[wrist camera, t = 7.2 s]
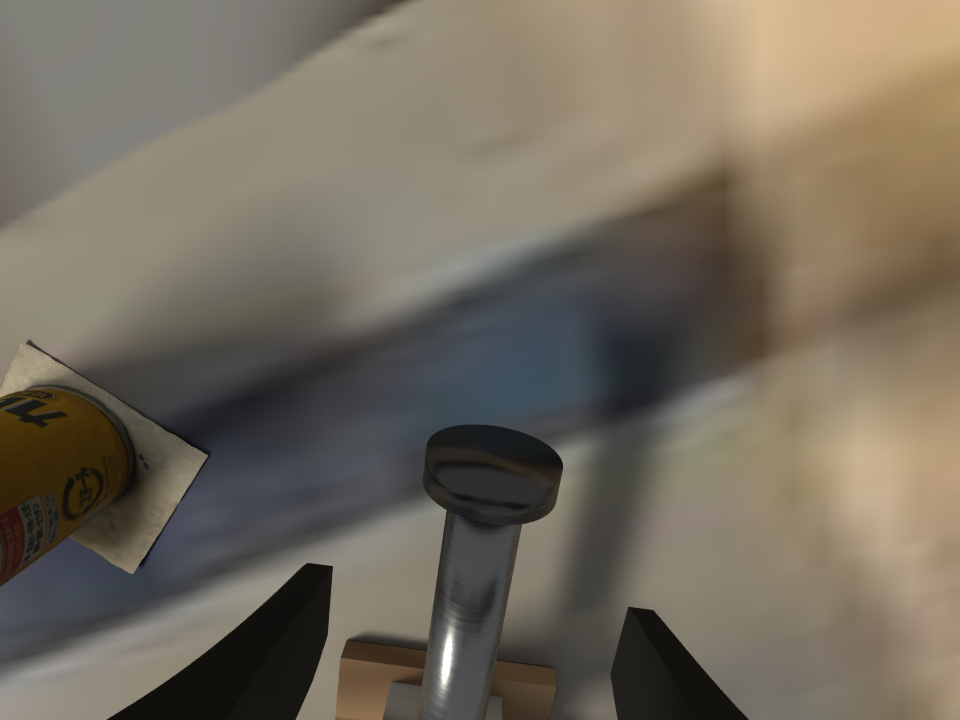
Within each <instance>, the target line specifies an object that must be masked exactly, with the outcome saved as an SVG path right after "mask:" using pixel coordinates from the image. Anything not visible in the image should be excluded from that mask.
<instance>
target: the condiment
mask: <svg viewBox="0 0 960 720" xmlns="http://www.w3.org/2000/svg"><path fill="white" fill-rule="evenodd" d="M140 454H141V455H142V456H143V460H140V459H139V455H140ZM207 456H208V455H206V454H205V453H203V452H201V451H200V450H198V449H196V448H194V447H192V446H191V445H189V444H187V443H186V442H184V441H183V440H182V439H181V438H179V437H177V436H176V435H174V434H171V433H169V432H167V431H165V430H164V429H163V428H161V427H160V426H158V425H157V424H155V423H154V422H152V421H151V420H149V419H147V418H145V417H143V416H141V415H140V414H139V413H138V412H136V411H135V410H133V409H131V408H130V407H128V406H127V405H125V404H124V403H122V402H121V401H120V400H118V399H117V398H115V397H114V396H112V395H111V394H109V393H108V392H106V391H105V390H103V389H101V388H99V387H98V386H96V385H94V384H92V383H91V382H89V381H88V380H86V379H85V378H83V377H82V376H80V375H78V374H76V373H75V372H74V371H72V370H70V369H69V368H67V367H66V366H64V365H62V364H60V363H58V362H56V361H54V360H53V359H52V358H51V357H49V356H48V355H46V354H44V353H43V352H41V351H39V350H37V349H35V348H33V347H32V346H29V345H27V344H24V343H22V342H21V344H20V346H19V349H18V351H17V352H16V355H15V357H14V359H13V361H12V363H11V367H10V369H9V371H8V372H7V374H6V379H5V380H4V382H3V385H2V387H1V389H0V587H1V586H2V585H3V584H5V583H6V582H8V581H9V580H10V579H12V578H13V577H14V576H16V575H17V574H18V573H20V572H21V571H23V570H24V569H25V568H27V567H28V566H29V565H31V564H32V563H33V562H35V561H36V560H38V559H39V558H40V557H42V556H43V555H44V554H46V553H47V552H48V551H50V550H51V549H53V548H54V547H55V546H57V545H58V544H59V543H61V542H62V541H63V540H65V539H66V538H67V537H69V538H71V539H73V540H75V541H77V542H79V543H80V544H81V545H83V546H86V547H88V548H90V549H92V550H93V551H95V552H97V553H98V554H100V555H101V556H103V557H104V558H105V559H107V560H108V561H109V562H110V563H112V564H113V565H115V566H118V567H120V568H122V569H124V570H125V571H127V572H129V573H131V574H133V573H134V572H135V570H136V569H137V567H138V566H139V564H140V562H141V561H142V559H143V558H144V557H145V555H146V553H147V552H148V550H149V549H150V547H151V546H152V544H153V543H154V541H155V539H156V537H157V536H158V535H159V533H160V532H161V530H162V529H163V527H164V525H165V524H166V522H167V521H168V519H169V517H170V516H171V514H172V513H173V511H174V510H175V508H176V507H177V505H178V504H179V502H180V500H181V498H182V497H183V495H184V493H185V492H186V490H187V488H188V487H189V485H190V484H191V482H192V481H193V479H194V478H195V476H196V474H197V472H198V471H199V469H200V468H201V466H202V464H203V463H204V461H205V460H206V458H207ZM143 463H146V464H147V465H148V467H149V468H148V470H146V469H145V467H144V465H143Z"/></svg>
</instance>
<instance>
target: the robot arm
mask: <svg viewBox="0 0 960 720" xmlns="http://www.w3.org/2000/svg"><path fill="white" fill-rule="evenodd" d="M332 571H333V566H327V565H320V564H313V563H307V564H305V565H304V566H303V567H302V568H301V569H300V570H298V571H297V572H296V573H295V574H294V575H293V576H292V577H291V578H290V579H289V580H288V581H287V582H286V583H285V584H284V585H283V586H282V587H281V588H280V589H279V590H278V591H277V592H276V593H275V594H273V595H272V596H271V597H270V598H269V599H268V600H267V601H266V602H265V603H264V604H263V605H261V606H260V607H259V608H258V609H257V610H256V611H255V612H254V613H252V614H251V615H250V616H249V617H248V618H247V619H246V620H245V621H243V622H242V623H241V624H240V625H239V626H238V627H236V628H235V629H234V630H233V631H232V632H230V633H229V634H228V635H227V636H225V637H224V638H223V639H222V640H220V641H219V642H218V643H217V644H215V645H214V646H213V647H212V648H211V649H209V650H208V651H207V652H206V653H204V654H203V655H202V656H200V657H199V658H198V659H196V660H195V661H194V662H192V663H191V664H190V665H188V666H187V667H186V668H184V669H183V670H182V671H180V672H179V673H177V674H176V675H175V676H173V677H172V678H170V679H169V680H167V681H166V682H165V683H163V684H162V685H160V686H159V687H157V688H156V689H154V690H153V691H151V692H150V693H148V694H147V695H145V696H144V697H142V698H140V699H139V700H137V701H136V702H134V703H133V704H131V705H130V706H128V707H126V708H125V709H123V710H121V711H120V712H118V713H117V714H115V715H113V716H112V717H110V718H109V719H107V720H296V717H297V715H298V713H299V711H300V708H301V706H302V704H303V702H304V699H305V697H306V695H307V693H308V690H309V688H310V686H311V684H312V681H313V678H314V675H315V672H316V670H317V667H318V664H319V661H320V658H321V654H322V651H323V648H324V645H325V642H326V639H327V636H328V623H329V610H330V597H331V584H332ZM611 681H612V687H613V694H614V700H615V706H616V712H617V717H618V720H749V719H748V718H747V717H746V716H745V715H744V714H743V713H742V712H741V711H740V710H739V709H738V708H737V707H736V706H735V705H734V704H733V702H732V701H731V700H730V699H729V698H728V697H727V696H726V695H725V694H724V693H723V691H722V690H721V689H720V688H719V687H718V686H717V685H716V684H715V682H714V681H713V680H712V679H711V678H710V677H709V675H708V674H707V673H706V672H705V671H704V670H703V669H702V667H701V666H700V665H699V664H698V663H697V661H696V660H695V659H694V658H693V657H692V656H691V654H690V653H689V652H688V651H687V650H686V648H685V647H684V646H683V645H682V644H681V642H680V641H679V640H678V639H677V638H676V636H675V635H674V634H673V633H672V632H671V630H670V629H669V628H668V627H667V626H666V624H665V623H664V622H663V621H662V620H661V618H660V617H659V616H658V615H657V614H656V613H655V612H654V610H649V609H641V608H634V607H628V610H627V614H626V618H625V621H624V625H623V629H622V633H621V636H620V640H619V644H618V648H617V651H616V655H615V659H614V663H613V666H612V670H611Z"/></svg>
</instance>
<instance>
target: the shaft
mask: <svg viewBox="0 0 960 720" xmlns="http://www.w3.org/2000/svg"><path fill="white" fill-rule="evenodd" d="M562 471H563V463H562V460H561V458H560V457H559V455H558V454H557V453H556V452H555V451H554V450H553V449H552V448H551V447H550V446H548V445H547V444H545V443H544V442H542V441H540V440H538V439H536V438H534V437H532V436H530V435H527V434H525V433H522V432H519V431H515V430H512V429H508V428H503V427H497V426H490V425H459V426H453V427H449V428H446V429H443V430H440V431H438V432H437V433H435V434H434V435H433V436H431V438H430V439H429V440H428V442H427V448H426V456H425V464H424V472H423V486H424V488H425V490H426V492H427V494H428V495H429V496H430V497H431V499H432V500H434V501H435V502H436V503H437V504H438V505H440V506H441V507H443V508H444V509H446V510H447V512H446V519H445V526H444V533H443V540H442V547H441V554H440V561H439V568H438V575H437V582H436V589H435V596H434V604H433V611H432V618H431V625H430V632H429V639H428V646H427V653H426V660H425V667H424V674H423V681H422V688H421V695H420V702H419V709H418V716H417V720H485V717H486V712H487V706H488V701H489V696H490V691H491V685H492V680H493V675H494V670H495V664H496V659H497V654H498V649H499V643H500V638H501V633H502V627H503V622H504V617H505V612H506V606H507V601H508V596H509V591H510V585H511V580H512V575H513V570H514V564H515V559H516V554H517V548H518V543H519V538H520V533H521V527H522V524H525V523H529V522H533V521H536V520H539V519H541V518H543V517H545V516H546V515H547V514H549V513H550V512H551V511H552V509H553V508H554V506H555V504H556V500H557V495H558V490H559V485H560V481H561V476H562Z"/></svg>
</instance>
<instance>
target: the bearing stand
mask: <svg viewBox="0 0 960 720" xmlns="http://www.w3.org/2000/svg"><path fill="white" fill-rule="evenodd" d="M426 653H427V651H423V650H416V649H408V648H401V647H394V646H386V645H379V644H371V643H364V642H357V641H349V640H347V641H346V644H345V647H344V650H343V653H342V656H341V660H340V672H339V683H338V695H337V707H336V718H335V720H417V716H418V709H419V702H420V695H421V688H422V681H423V674H424V667H425V660H426ZM556 688H557V686H556V679H555V672H554V668H548V667H541V666H534V665H526V664H519V663H511V662H504V661H497V660H496V664H495V670H494V675H493V680H492V685H491V691H490V696H489V701H488V706H487V712H486V717H485V720H549V717H550V713H551V709H552V705H553V700H554V696H555V692H556Z"/></svg>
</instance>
